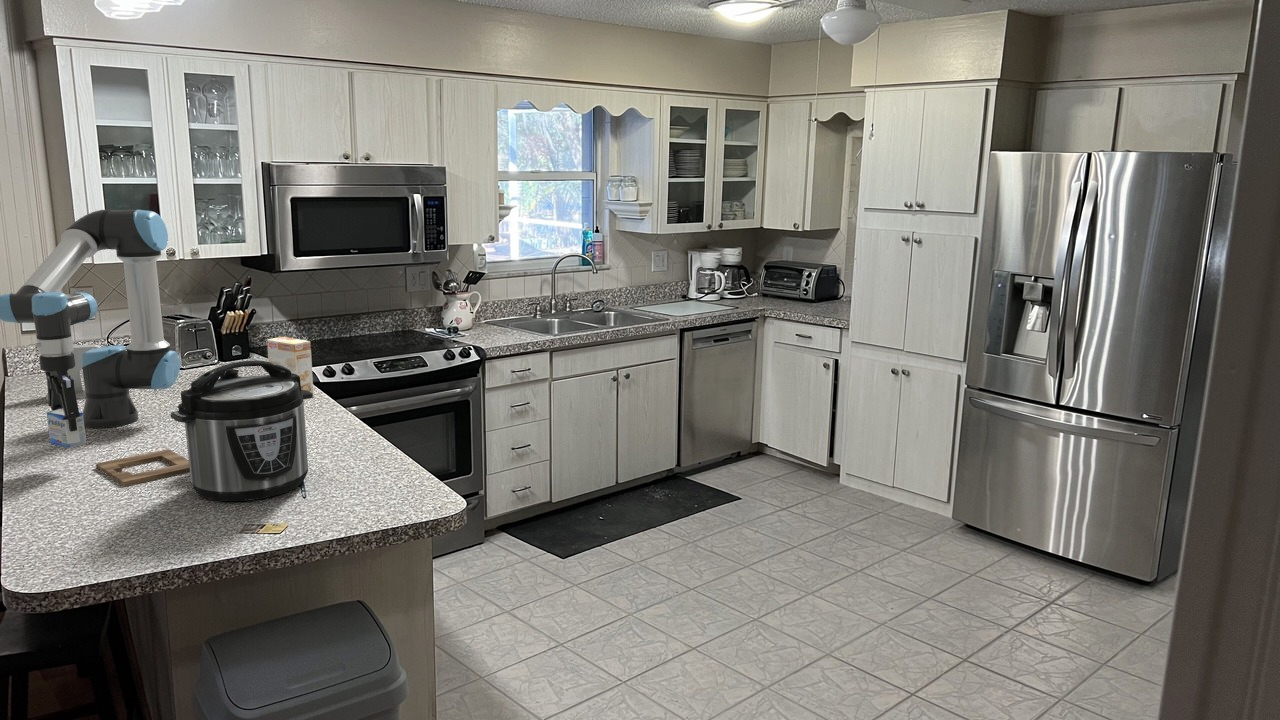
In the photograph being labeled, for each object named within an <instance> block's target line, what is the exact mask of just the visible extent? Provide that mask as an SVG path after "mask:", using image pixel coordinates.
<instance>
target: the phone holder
mask: <svg viewBox="0 0 1280 720" xmlns="http://www.w3.org/2000/svg"><path fill="white" fill-rule="evenodd" d="M73 348H74V350H73V351H72V353H73V354H74V358H75V367H74V368H72V369H69V370H68V371H67V372H68V376H69V375H70V377H71V379H73V380H74V389H75V394H76V399H82V398H81V397H86V394H85V389H83V382H82V376H81V375H82V374H81V371H82V355H83V353H85V352H86V351H89V350H92V349H96V348H101V346H100V345H99V344H96V343H95V344H93V343H92V344H77V345H74V344H73ZM45 400H46V401H47V402H48V393H47V395H46V397H45Z"/></svg>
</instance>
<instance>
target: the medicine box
mask: <svg viewBox="0 0 1280 720" xmlns="http://www.w3.org/2000/svg"><path fill="white" fill-rule="evenodd" d="M79 413H80V417H78V418H77V421H78V429H79V436H80V442H76V443H71V444H68V443H67V437H66V429H65V422H64V420H63V419H62V418H63V417H65V414H64V410H63V409H58V410H53V411H52V410H50V411H47V412H46V420H47V427H48V437H49V443H50V444H51V445H54V446H58V447H59V446H60V447H63V448H64V447H65V448H70V449H73V448H77V447H79V446H82V445H85V444H87V437H86V430H85V426H84V419H83V411H82V412H81V411H79Z"/></svg>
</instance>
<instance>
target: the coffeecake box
mask: <svg viewBox="0 0 1280 720" xmlns="http://www.w3.org/2000/svg"><path fill="white" fill-rule="evenodd" d="M266 344H267V346H266V347H267V360H268V361H267V362H272V363H275V364H279V365H281V366H284V367H286V368H288V369H289V370H290V371H291V373H294V374H297V375H298V376H299V377H300V383H301V390H306V391H309V392H311V393H313V397H314V396H315V394H314V380H313V377H314V376H313V364H312V361H313V360H312V348H311V347H312V346H311V345H312V344H311V341H310V340H305V339H298V338H292V337H285V336H281V337H280V336H279V337H274V338H268V339H266Z"/></svg>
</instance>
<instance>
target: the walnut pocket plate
mask: <svg viewBox="0 0 1280 720" xmlns="http://www.w3.org/2000/svg"><path fill="white" fill-rule="evenodd" d="M157 460H158V461H163V462H165V463H167V464H168V465H170V466H165V467H161V468H156V469H150V470H146V471H141V472H137V473H131V472H130V471H123V468H121V467H124V468H127V467H126V466H129V467H132V466H131V465H134V466H137V465H136V464H139V465H142V464H141V463H143V464H148V463H152V461H153V462H157ZM147 462H148V463H147ZM95 467H96V469H97V468H98V469H97V470H99V469H100V470H101V471H100V470H99V471H100V472H102V471H103V472H104V473H103V472H102V473H103V474H105V473H106V474H107V475H106V474H105V475H106V476H107V477H109V476H110V477H109V478H111V479H112V478H113V479H112V480H114V481H115V480H116V481H115V482H117V483H118V482H119V483H118V484H120V485H121V484H122V485H121V486H123V487H127V486H128V485H129V486H133V485H136V484H137V483H138V484H141V482H142V483H147V482H151V481H156V480H160V479H161V480H162V479H164V478H169V477H175V476H178V475H183V474H187V473H190V468H189V459H188V458H185V457H184V456H182V455H180V454H179V453H176V452H174V451H173V450H170V449H169V448H168V449H167V448H166V449H162V450H157V451H153V452H147V453H143V454H137V455H131V456H128V457H121V458H117V459H112V460H108V461H103V462H97V463H95ZM118 472H120V473H118ZM146 481H147V482H146ZM129 486H128V487H129Z"/></svg>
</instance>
